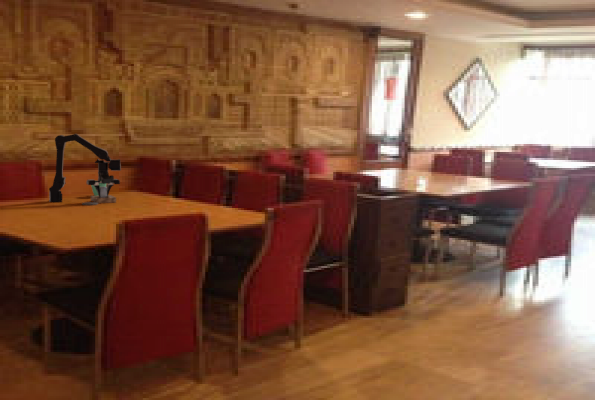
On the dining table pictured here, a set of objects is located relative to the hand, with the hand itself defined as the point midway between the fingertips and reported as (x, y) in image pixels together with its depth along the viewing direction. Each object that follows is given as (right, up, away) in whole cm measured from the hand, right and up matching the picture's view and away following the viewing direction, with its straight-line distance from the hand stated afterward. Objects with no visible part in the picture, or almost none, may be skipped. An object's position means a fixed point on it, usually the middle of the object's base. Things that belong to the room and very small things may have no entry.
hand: (103, 196), depth 383 cm
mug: (-10, 0, +24) cm, 26 cm away
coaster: (-4, -5, -12) cm, 13 cm away
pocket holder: (0, -3, 0) cm, 3 cm away
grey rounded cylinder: (0, -3, 0) cm, 3 cm away
